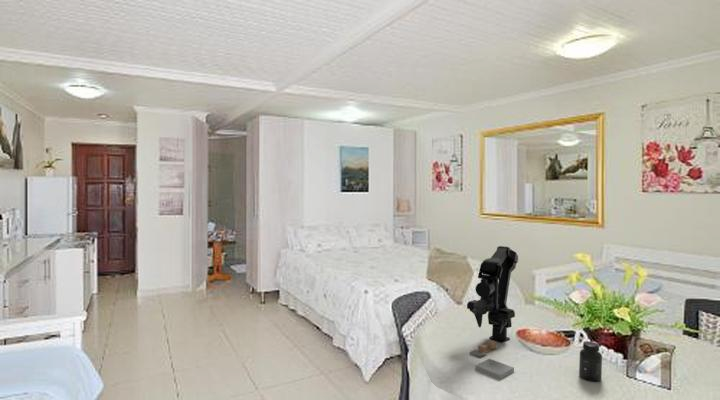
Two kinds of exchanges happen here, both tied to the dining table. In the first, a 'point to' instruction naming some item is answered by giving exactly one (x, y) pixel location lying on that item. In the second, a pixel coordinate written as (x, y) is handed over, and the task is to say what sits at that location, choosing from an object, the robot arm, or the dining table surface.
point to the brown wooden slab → (484, 349)
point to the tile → (494, 368)
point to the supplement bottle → (590, 362)
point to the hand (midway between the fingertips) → (489, 330)
